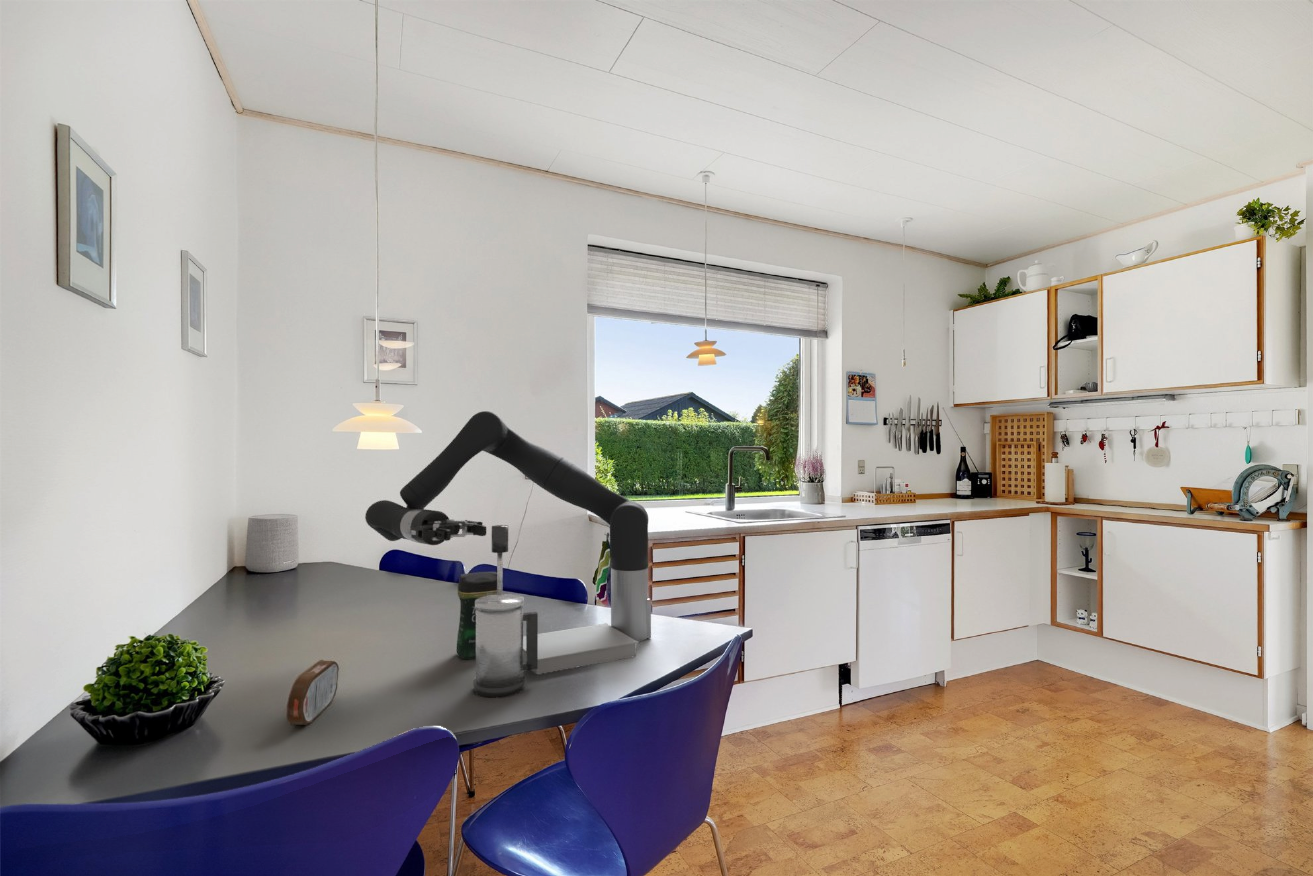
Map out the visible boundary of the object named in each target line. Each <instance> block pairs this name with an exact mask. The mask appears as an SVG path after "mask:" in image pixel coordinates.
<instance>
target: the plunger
mask: <svg viewBox="0 0 1313 876" xmlns="http://www.w3.org/2000/svg"><path fill="white" fill-rule="evenodd" d="M508 552H509V525H507V524H496V525H495V524H494V525H491V553H492V554H493V553H494V554H497V555H496V559H497V560H496V561H497V562H496V563H497V564H496V565H497V567H496V568H497V572H496V573H497V595H499V596H500V595H502V594H503V575H504V574H503V571H504V570H503V567H504V565H503V561H504V559H503V557H504V556H503V554H504V553H508Z"/></svg>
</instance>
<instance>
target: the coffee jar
mask: <svg viewBox="0 0 1313 876" xmlns="http://www.w3.org/2000/svg"><path fill="white" fill-rule="evenodd" d="M489 595H497V572H496V571H478V572H470V573H461V574H460V575H459V580H458V586H457V596H458V598H459V601H460V610H459V611H460V612H459V624H458V632H457V638H456V639H457V640H456V654H457V656H458V657H459V658H461V659H465V660H476V609H475V600H476V599H478V598H481V597H484V596H489Z"/></svg>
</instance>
